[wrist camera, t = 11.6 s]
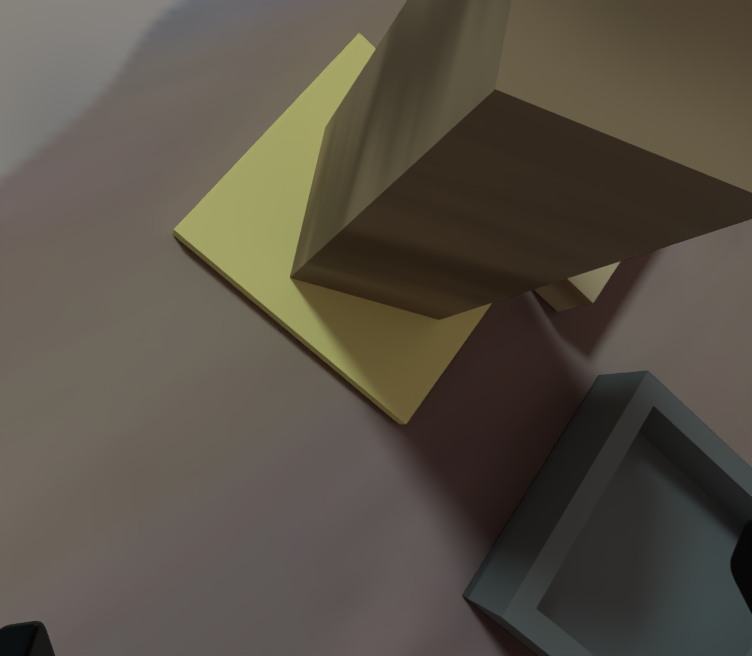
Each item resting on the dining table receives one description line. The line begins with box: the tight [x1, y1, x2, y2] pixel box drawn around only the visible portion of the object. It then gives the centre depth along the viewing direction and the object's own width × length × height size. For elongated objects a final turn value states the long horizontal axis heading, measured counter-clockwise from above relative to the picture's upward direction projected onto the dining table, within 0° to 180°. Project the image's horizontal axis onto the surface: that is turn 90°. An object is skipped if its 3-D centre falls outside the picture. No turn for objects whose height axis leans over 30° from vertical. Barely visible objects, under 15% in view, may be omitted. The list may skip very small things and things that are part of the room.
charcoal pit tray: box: [462, 371, 752, 656], centre depth 23 cm, size 9×9×2 cm
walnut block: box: [290, 0, 752, 320], centre depth 16 cm, size 5×5×12 cm
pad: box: [173, 33, 492, 424], centre depth 22 cm, size 9×9×1 cm
